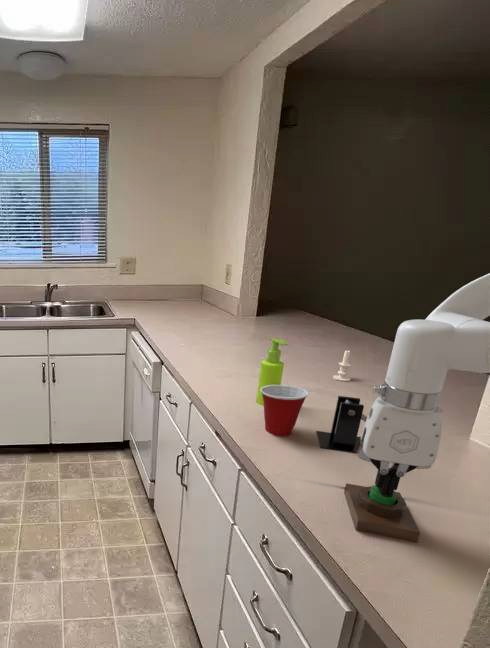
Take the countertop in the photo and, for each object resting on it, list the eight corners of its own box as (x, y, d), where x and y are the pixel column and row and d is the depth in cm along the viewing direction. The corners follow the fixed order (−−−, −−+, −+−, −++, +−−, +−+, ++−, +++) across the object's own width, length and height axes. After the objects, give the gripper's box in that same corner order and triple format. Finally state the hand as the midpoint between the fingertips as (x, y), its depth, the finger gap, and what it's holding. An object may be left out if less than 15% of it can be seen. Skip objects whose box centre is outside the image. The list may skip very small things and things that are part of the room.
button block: (343, 492, 86) (347, 475, 84) (397, 502, 83) (402, 484, 81) (355, 530, 75) (360, 511, 74) (417, 543, 72) (423, 523, 71)
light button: (366, 491, 80) (368, 483, 80) (391, 495, 79) (394, 487, 78) (371, 503, 77) (373, 495, 76) (398, 508, 75) (400, 500, 75)
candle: (352, 382, 144) (358, 352, 140) (334, 380, 146) (340, 350, 142) (349, 377, 149) (355, 348, 145) (331, 375, 150) (337, 346, 147)
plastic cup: (275, 421, 117) (282, 379, 112) (310, 438, 107) (318, 393, 103) (245, 429, 112) (250, 386, 108) (278, 447, 103) (286, 401, 99)
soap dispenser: (265, 411, 122) (276, 343, 116) (251, 402, 129) (260, 336, 122) (283, 409, 124) (295, 341, 117) (268, 400, 130) (278, 335, 123)
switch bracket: (360, 441, 106) (371, 396, 102) (369, 459, 98) (380, 411, 94) (315, 434, 109) (323, 391, 105) (319, 451, 101) (329, 405, 97)
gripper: (361, 398, 70) (340, 494, 76) (476, 411, 65) (442, 512, 71) (353, 383, 77) (333, 472, 83) (456, 393, 72) (427, 488, 78)
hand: (384, 491), depth 77 cm, fingers closed
